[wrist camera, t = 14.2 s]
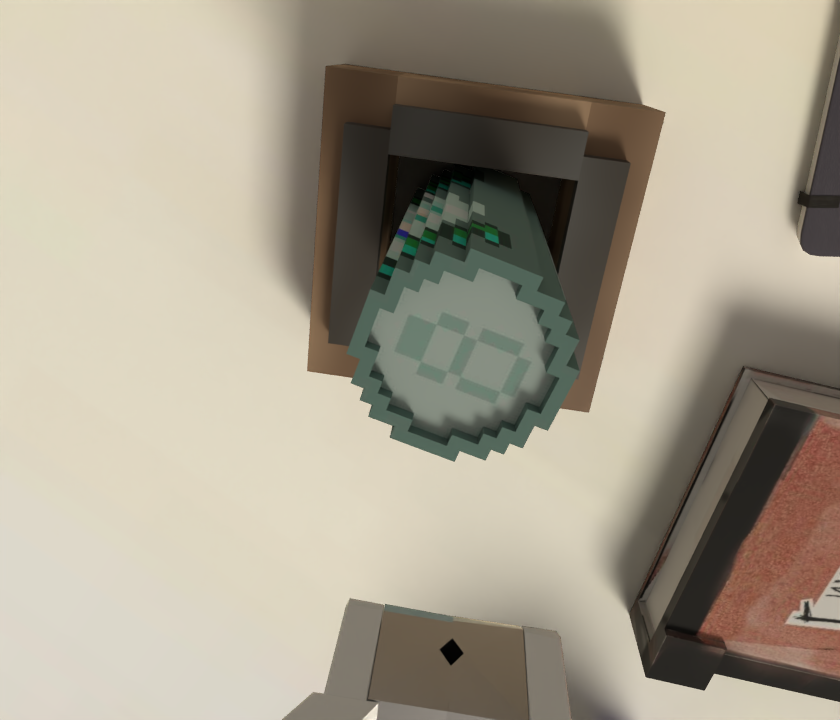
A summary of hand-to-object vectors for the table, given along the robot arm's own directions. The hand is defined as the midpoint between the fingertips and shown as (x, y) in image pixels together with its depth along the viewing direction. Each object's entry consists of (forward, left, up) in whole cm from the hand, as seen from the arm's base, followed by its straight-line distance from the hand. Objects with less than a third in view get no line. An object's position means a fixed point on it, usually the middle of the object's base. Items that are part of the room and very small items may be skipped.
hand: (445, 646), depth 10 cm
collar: (0, 0, -25) cm, 25 cm away
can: (0, 0, -25) cm, 25 cm away
